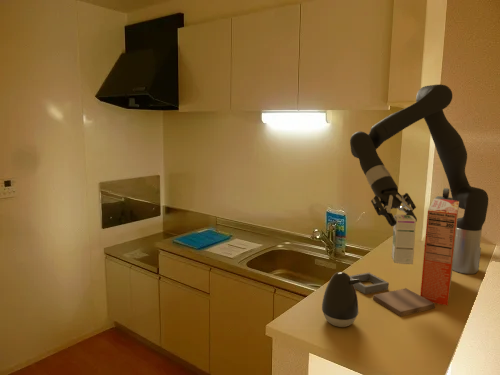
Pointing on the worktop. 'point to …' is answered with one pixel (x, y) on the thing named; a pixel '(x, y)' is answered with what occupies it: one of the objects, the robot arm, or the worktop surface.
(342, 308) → the pump dispenser
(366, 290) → the holder
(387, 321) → the worktop surface
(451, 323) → the worktop surface
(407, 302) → the board
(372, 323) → the worktop surface
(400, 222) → the syrup box
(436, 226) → the pasta box
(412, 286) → the worktop surface
